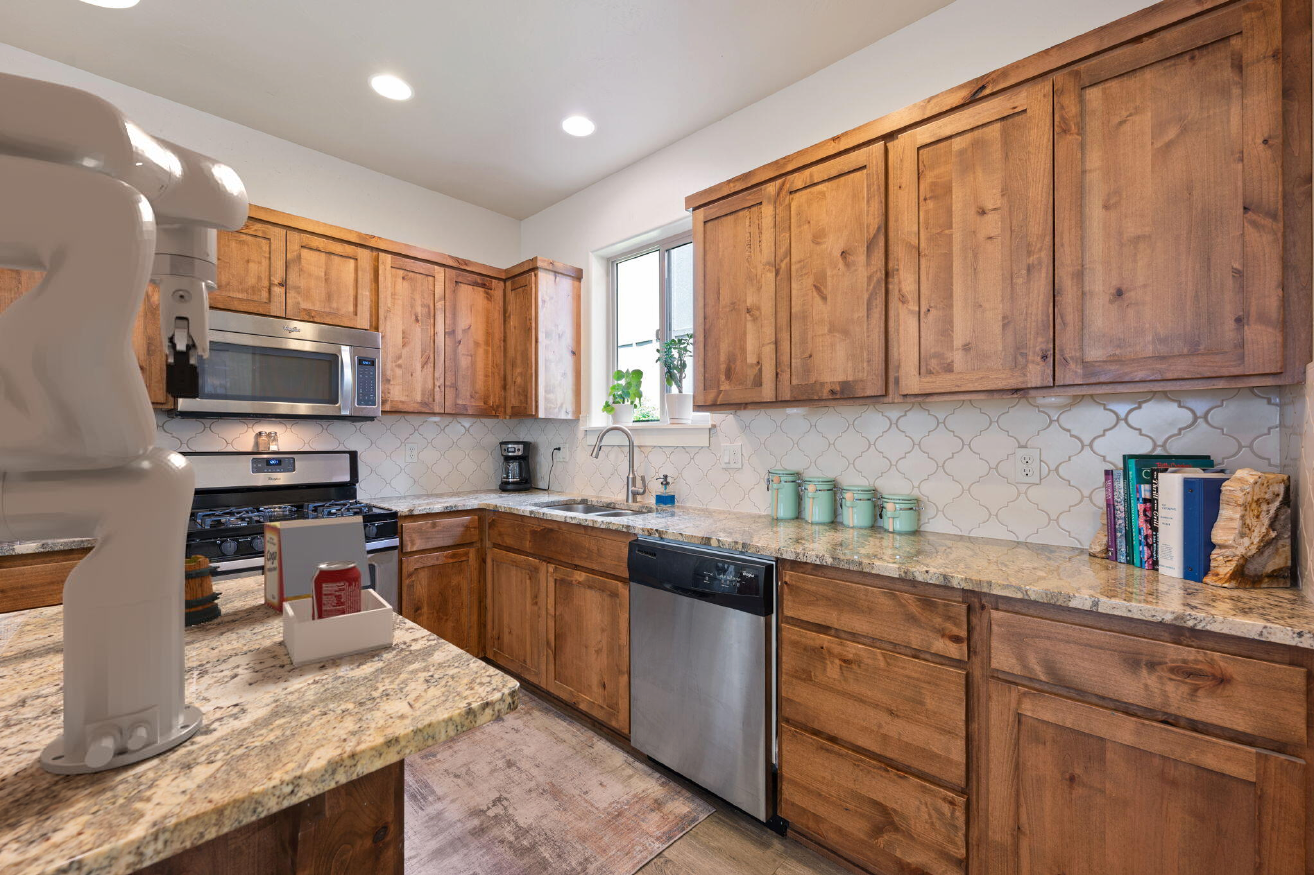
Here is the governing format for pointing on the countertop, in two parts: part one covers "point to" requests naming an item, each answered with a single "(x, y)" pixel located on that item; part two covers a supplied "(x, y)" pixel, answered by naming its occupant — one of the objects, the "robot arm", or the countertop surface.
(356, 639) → the white open box
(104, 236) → the robot arm
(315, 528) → the lid
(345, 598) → the soda can
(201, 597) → the mug
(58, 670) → the countertop surface
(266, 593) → the baking soda box
